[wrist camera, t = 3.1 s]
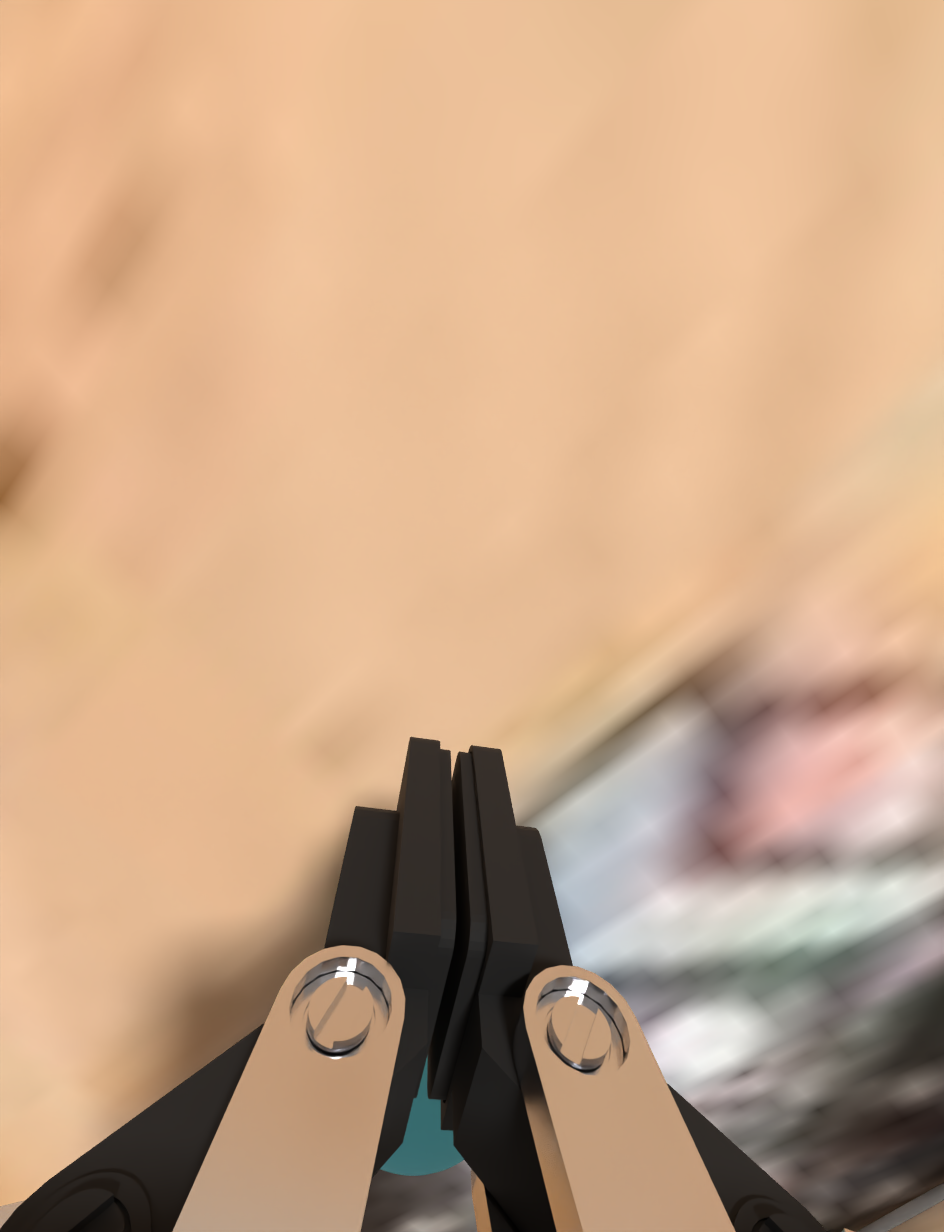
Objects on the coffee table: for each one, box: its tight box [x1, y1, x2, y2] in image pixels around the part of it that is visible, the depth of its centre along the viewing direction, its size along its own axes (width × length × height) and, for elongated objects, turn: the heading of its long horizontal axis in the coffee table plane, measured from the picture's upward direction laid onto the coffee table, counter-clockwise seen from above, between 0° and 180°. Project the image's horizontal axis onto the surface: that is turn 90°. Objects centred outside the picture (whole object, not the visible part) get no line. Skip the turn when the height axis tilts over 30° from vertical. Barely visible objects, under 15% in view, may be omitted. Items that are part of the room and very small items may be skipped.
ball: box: [380, 1055, 464, 1176], centre depth 15 cm, size 6×6×6 cm
